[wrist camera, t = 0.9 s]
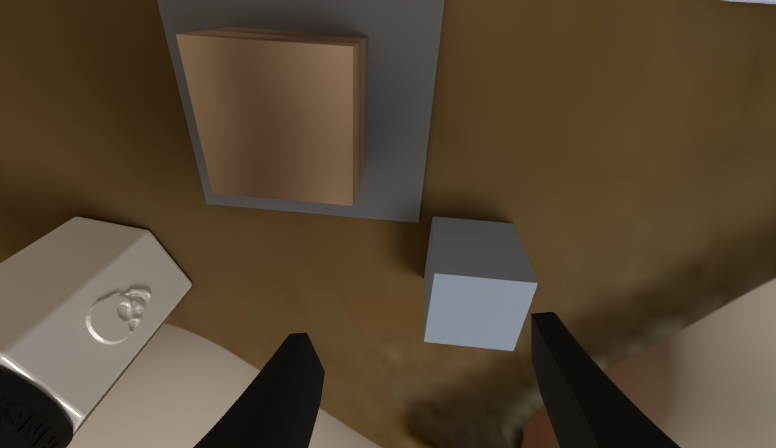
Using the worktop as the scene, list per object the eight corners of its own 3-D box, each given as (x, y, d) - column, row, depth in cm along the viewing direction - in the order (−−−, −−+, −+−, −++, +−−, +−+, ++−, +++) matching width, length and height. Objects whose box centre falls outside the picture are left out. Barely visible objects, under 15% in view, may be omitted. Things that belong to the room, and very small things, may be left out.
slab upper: (361, 40, 14) (352, 46, 12) (359, 185, 17) (352, 205, 15) (206, 30, 14) (175, 34, 12) (233, 174, 17) (212, 193, 15)
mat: (449, -48, 14) (450, -49, 14) (418, 219, 20) (418, 222, 20) (147, -65, 14) (140, -66, 14) (210, 200, 21) (206, 203, 20)
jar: (215, 305, 25) (76, 509, 15) (127, 325, 27) (-48, 518, 17) (129, 197, 21) (-144, 380, 11) (32, 230, 23) (-275, 411, 13)
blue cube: (513, 223, 20) (537, 283, 16) (496, 284, 22) (513, 350, 18) (432, 215, 20) (434, 273, 16) (423, 277, 23) (423, 341, 18)
